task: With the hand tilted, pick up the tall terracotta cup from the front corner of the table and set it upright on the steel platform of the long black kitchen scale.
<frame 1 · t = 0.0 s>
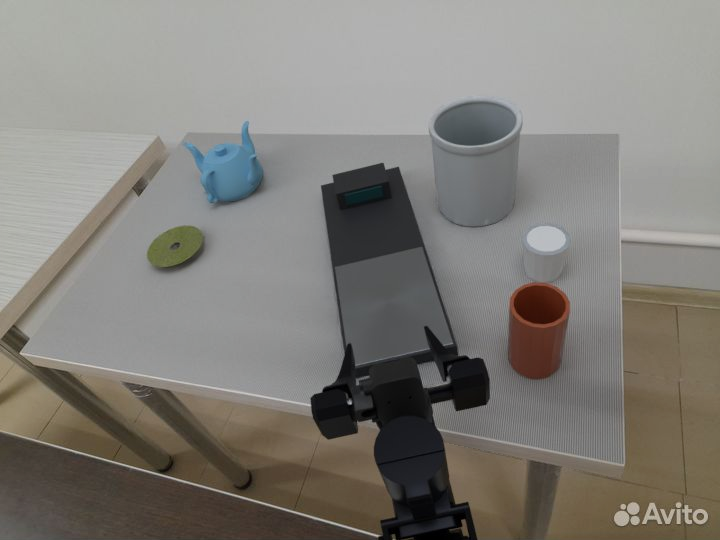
hand: (387, 336, 62), 15 cm above the table, tool horizontal, fingers open, 9 cm apart
cup: (534, 357, 73), on the table
shot glass: (543, 270, 83), on the table
scale: (367, 210, 100), on the table
mat: (179, 252, 103), on the table
teapot: (240, 183, 115), on the table
utensil holder: (477, 202, 96), on the table
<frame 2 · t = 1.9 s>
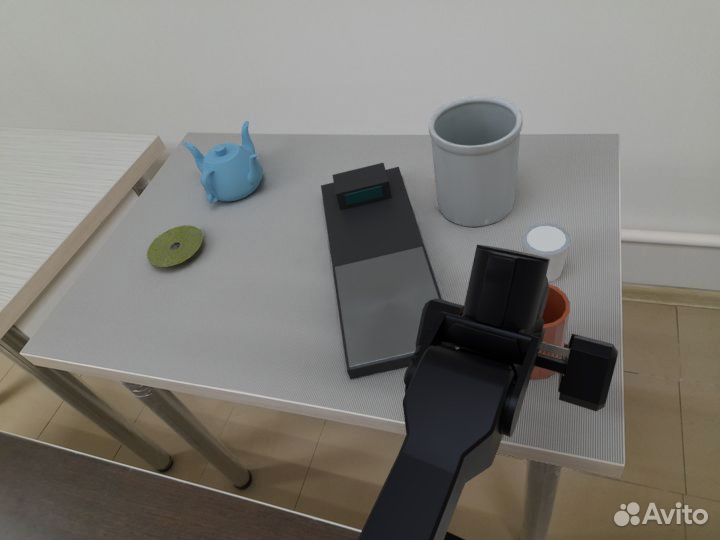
hand: (523, 337, 59), 14 cm above the table, tool tilted 45°, fingers open, 9 cm apart
nothing on the table moved.
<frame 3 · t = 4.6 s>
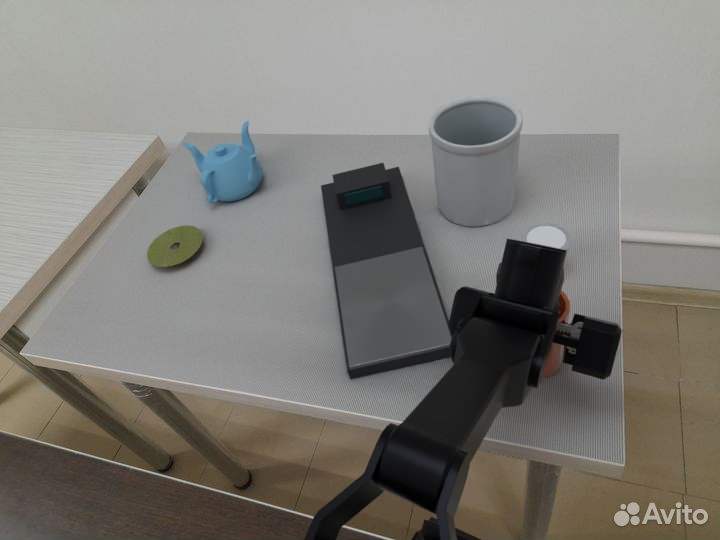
hand: (539, 321, 69), 7 cm above the table, tool tilted 45°, fingers closed on cup, 7 cm apart
cup: (534, 357, 73), on the table, touching gripper
everything else where it was.
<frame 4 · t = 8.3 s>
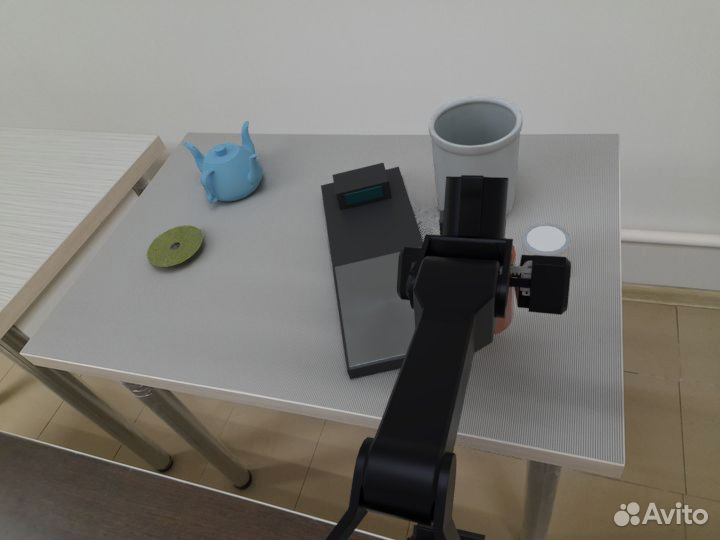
hand: (486, 274, 67), 13 cm above the table, tool tilted 45°, fingers closed on cup, 7 cm apart
cup: (486, 314, 71), point 7 cm above the table, touching gripper
everything else where it was.
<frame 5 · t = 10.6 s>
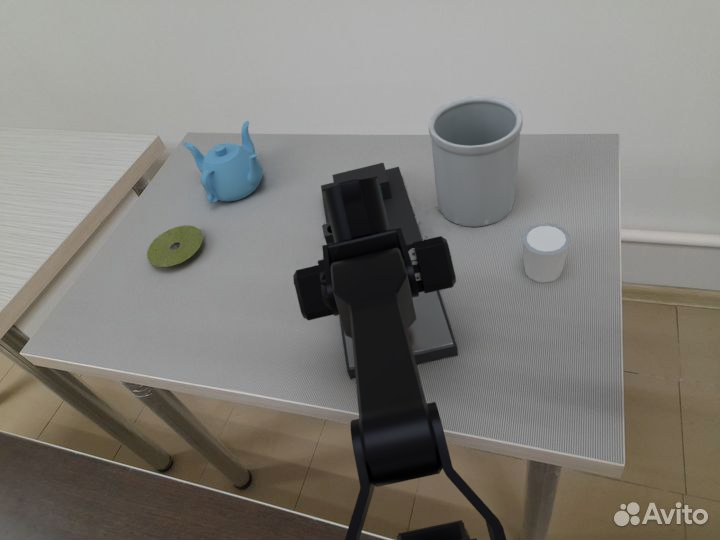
hand: (374, 275, 71), 13 cm above the table, tool tilted 45°, fingers closed on cup, 7 cm apart
cup: (383, 313, 75), point 7 cm above the table, touching gripper
everything else where it was.
when the fingers open (10 cm above the table, at t = 12.2 s): cup stays where it is, resting on scale.
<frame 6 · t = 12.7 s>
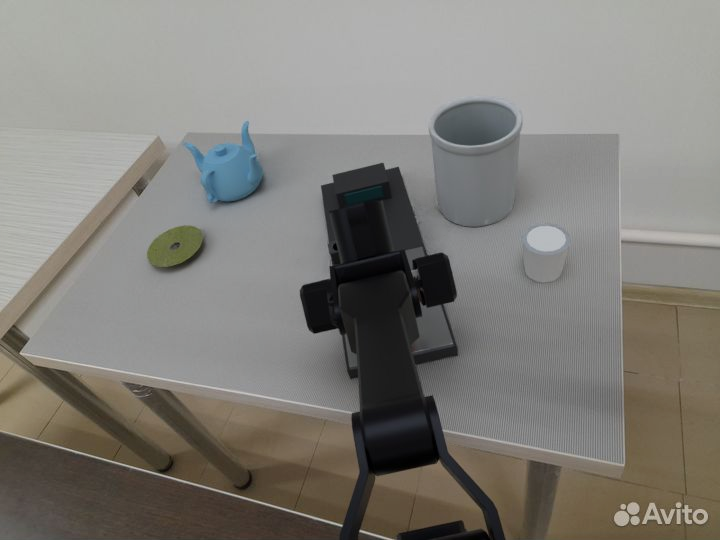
hand: (378, 288, 73), 10 cm above the table, tool tilted 45°, fingers open, 9 cm apart
cup: (387, 326, 77), point 3 cm above the table, touching scale
everything else where it was.
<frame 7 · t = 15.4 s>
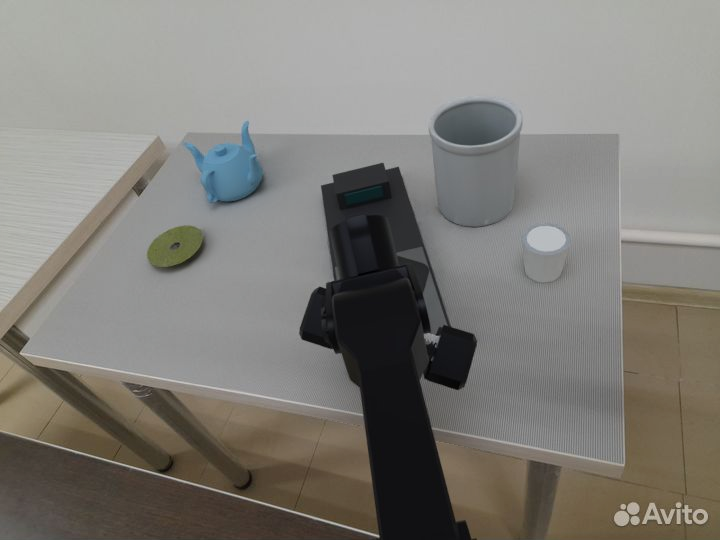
hand: (389, 342, 65), 11 cm above the table, tool tilted 30°, fingers open, 9 cm apart
nothing on the table moved.
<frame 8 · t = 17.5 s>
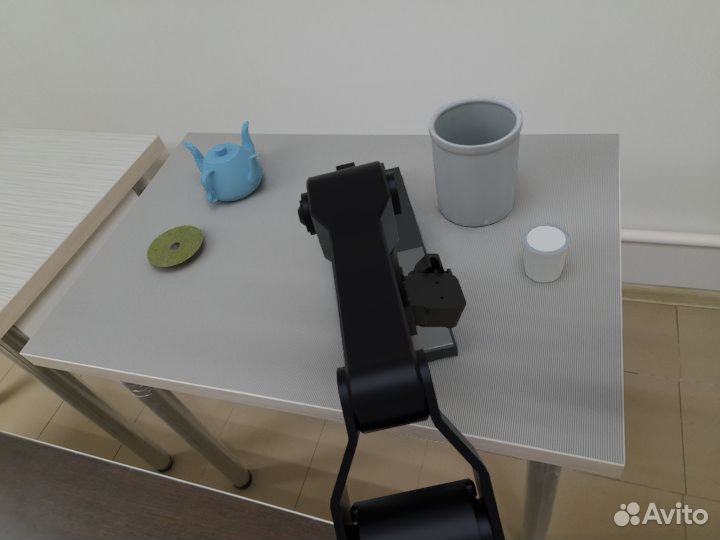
hand: (394, 367, 61), 13 cm above the table, tool pointing down, fingers open, 9 cm apart
nothing on the table moved.
at the end: cup inside the target area on the scale (5.1 cm from its centre), point 3.2 cm above the scale's base; cup tilted 0°; the gripper is holding nothing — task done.
